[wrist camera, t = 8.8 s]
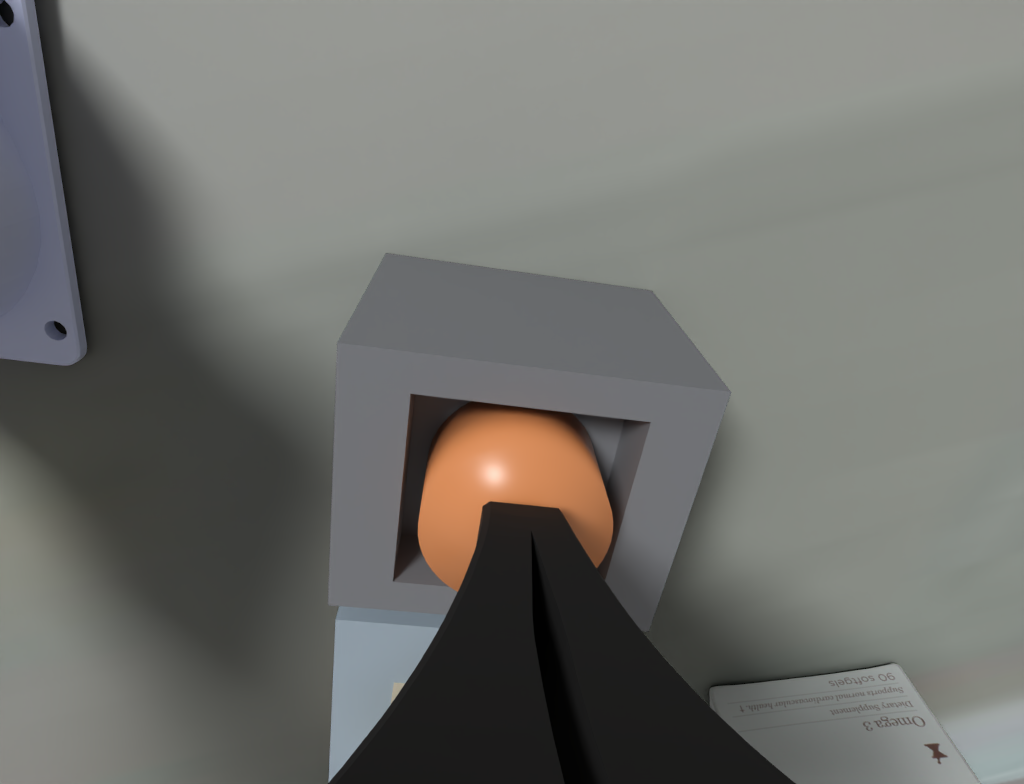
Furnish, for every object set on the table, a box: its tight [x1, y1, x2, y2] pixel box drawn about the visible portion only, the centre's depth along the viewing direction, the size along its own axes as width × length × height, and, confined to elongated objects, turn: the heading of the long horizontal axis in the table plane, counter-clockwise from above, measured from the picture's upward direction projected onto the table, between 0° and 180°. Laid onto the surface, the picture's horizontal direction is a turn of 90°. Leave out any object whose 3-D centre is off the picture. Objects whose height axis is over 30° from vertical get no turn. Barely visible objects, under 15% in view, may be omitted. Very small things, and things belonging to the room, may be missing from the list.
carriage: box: [329, 606, 446, 782], centre depth 16 cm, size 7×7×6 cm
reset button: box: [418, 401, 613, 592], centre depth 13 cm, size 4×4×2 cm
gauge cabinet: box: [328, 253, 731, 632], centre depth 15 cm, size 6×8×6 cm
